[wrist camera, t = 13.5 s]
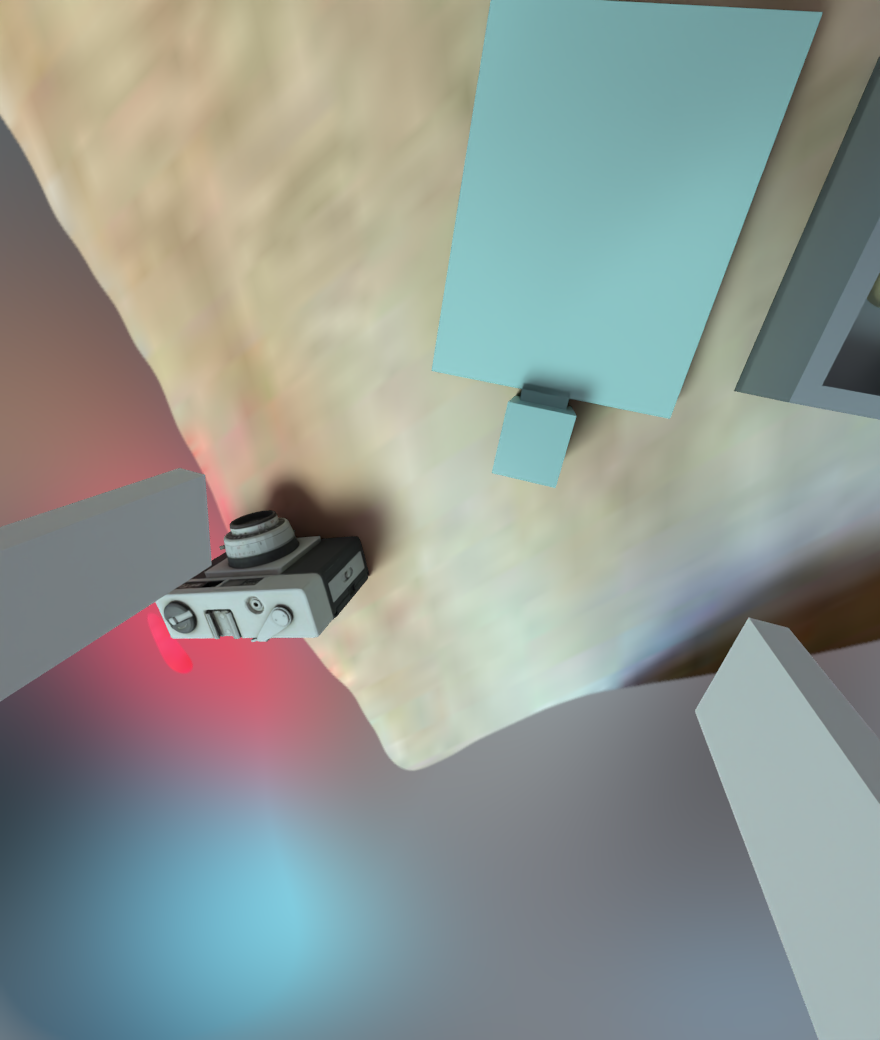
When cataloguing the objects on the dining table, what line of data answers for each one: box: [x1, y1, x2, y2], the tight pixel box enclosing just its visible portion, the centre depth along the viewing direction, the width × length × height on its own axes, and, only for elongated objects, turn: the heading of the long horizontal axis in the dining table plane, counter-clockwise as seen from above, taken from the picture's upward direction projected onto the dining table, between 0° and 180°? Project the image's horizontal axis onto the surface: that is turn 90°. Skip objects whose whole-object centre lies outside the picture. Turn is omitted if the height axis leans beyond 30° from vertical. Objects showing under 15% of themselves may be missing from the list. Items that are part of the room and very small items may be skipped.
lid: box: [432, 0, 823, 488], centre depth 25 cm, size 23×15×6 cm, turn 170°
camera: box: [156, 510, 369, 642], centre depth 36 cm, size 14×8×10 cm, turn 100°
